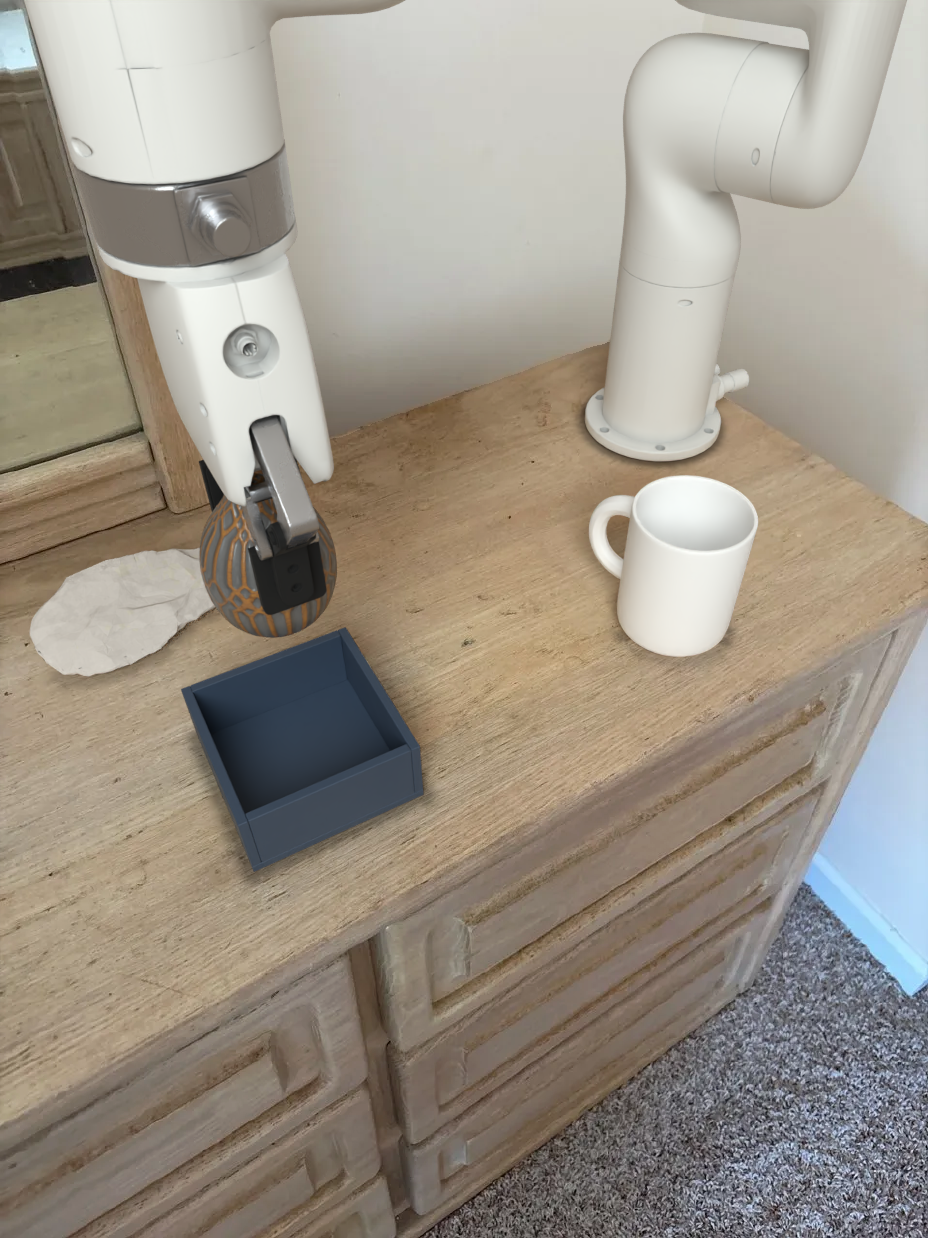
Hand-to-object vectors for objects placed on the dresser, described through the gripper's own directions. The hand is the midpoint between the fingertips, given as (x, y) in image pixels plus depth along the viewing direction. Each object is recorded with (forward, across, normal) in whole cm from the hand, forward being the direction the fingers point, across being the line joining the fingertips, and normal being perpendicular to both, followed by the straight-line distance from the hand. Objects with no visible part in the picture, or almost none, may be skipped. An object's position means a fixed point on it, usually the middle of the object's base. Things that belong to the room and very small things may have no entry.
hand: (268, 554), depth 46 cm
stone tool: (+18, +17, +6) cm, 26 cm away
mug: (+18, 0, -28) cm, 33 cm away
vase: (+4, 0, 0) cm, 4 cm away
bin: (+18, -1, 0) cm, 18 cm away
